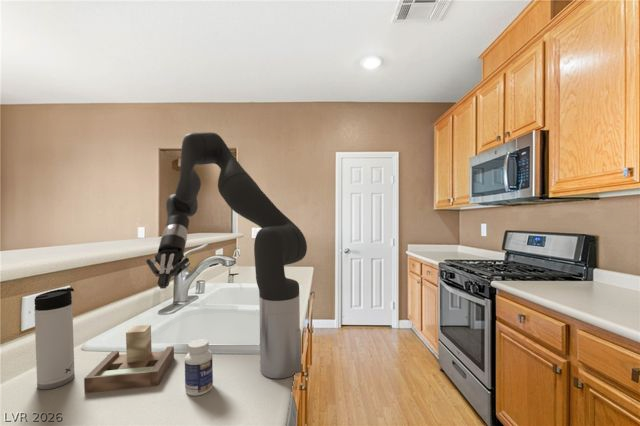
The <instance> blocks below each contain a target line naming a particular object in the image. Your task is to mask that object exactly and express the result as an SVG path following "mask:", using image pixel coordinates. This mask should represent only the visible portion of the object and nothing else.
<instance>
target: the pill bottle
mask: <svg viewBox="0 0 640 426" xmlns="http://www.w3.org/2000/svg"><path fill="white" fill-rule="evenodd" d="M209 343H210V342H209V340H208V339H206V338H198V339H193V340H191V341H190V342H188V344H187V351H188V352H187V354H186V355H185V357H184V387H185V388H184V389H185V393H186V394H187V395H189V396H192V397H193V396H195V397H196V396H202V395H204V394H207V393H208V392H210V391H211V390H212V388H213V386H214V385H213V383H214V378H213V377H214V375H213V373H214V372H213V371H214V370H213V369H214V367H213V351H211V349H209V347H210V346H209Z"/></svg>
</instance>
